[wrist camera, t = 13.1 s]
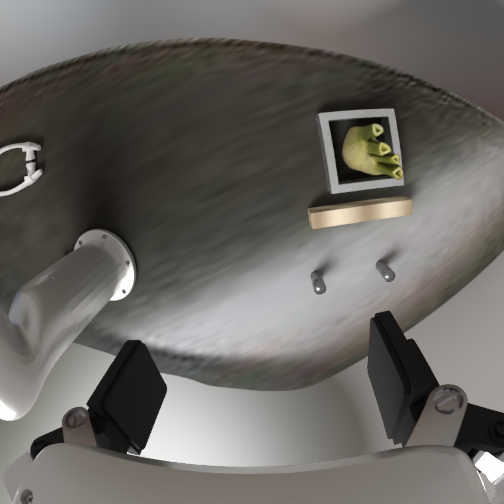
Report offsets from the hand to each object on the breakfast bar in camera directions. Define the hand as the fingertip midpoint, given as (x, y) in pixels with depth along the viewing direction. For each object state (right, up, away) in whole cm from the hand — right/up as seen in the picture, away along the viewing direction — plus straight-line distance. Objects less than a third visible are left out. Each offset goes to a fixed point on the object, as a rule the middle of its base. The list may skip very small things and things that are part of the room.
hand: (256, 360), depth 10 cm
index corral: (+14, +18, +23) cm, 32 cm away
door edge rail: (+14, +10, +25) cm, 31 cm away
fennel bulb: (+13, +18, +23) cm, 32 cm away
